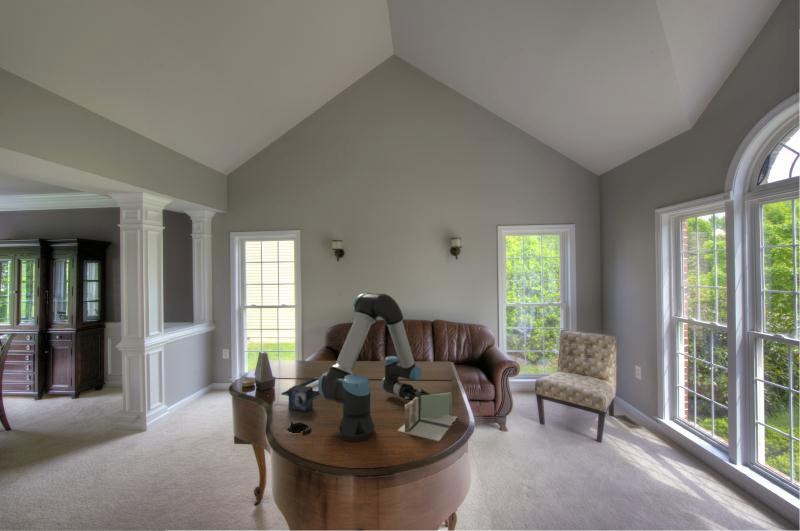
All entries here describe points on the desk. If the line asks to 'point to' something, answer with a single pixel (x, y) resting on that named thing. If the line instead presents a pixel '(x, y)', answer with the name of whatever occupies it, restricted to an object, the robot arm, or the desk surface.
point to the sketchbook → (309, 383)
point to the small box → (300, 398)
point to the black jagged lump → (298, 428)
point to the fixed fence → (412, 412)
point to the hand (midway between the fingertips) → (438, 403)
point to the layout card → (430, 427)
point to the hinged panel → (436, 405)
